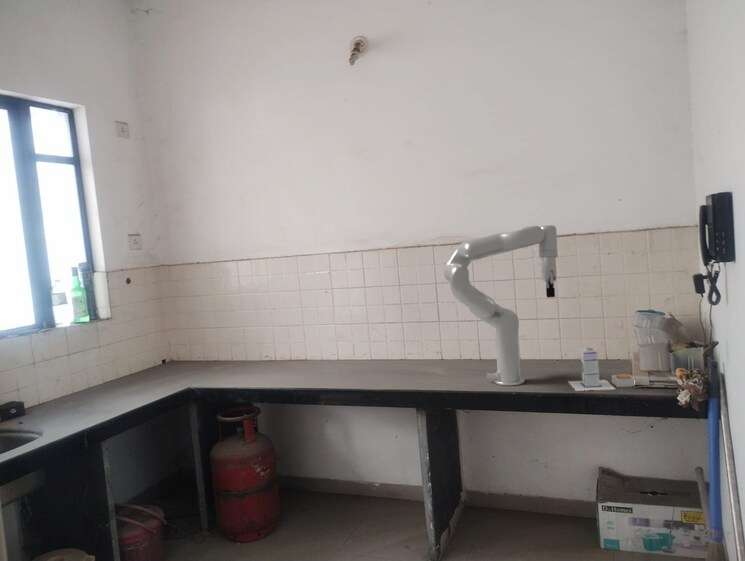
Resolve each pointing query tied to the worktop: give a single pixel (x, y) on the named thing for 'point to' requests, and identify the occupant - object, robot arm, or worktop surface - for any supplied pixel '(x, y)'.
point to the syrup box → (589, 367)
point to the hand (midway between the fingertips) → (550, 297)
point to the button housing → (622, 381)
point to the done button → (623, 376)
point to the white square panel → (581, 387)
